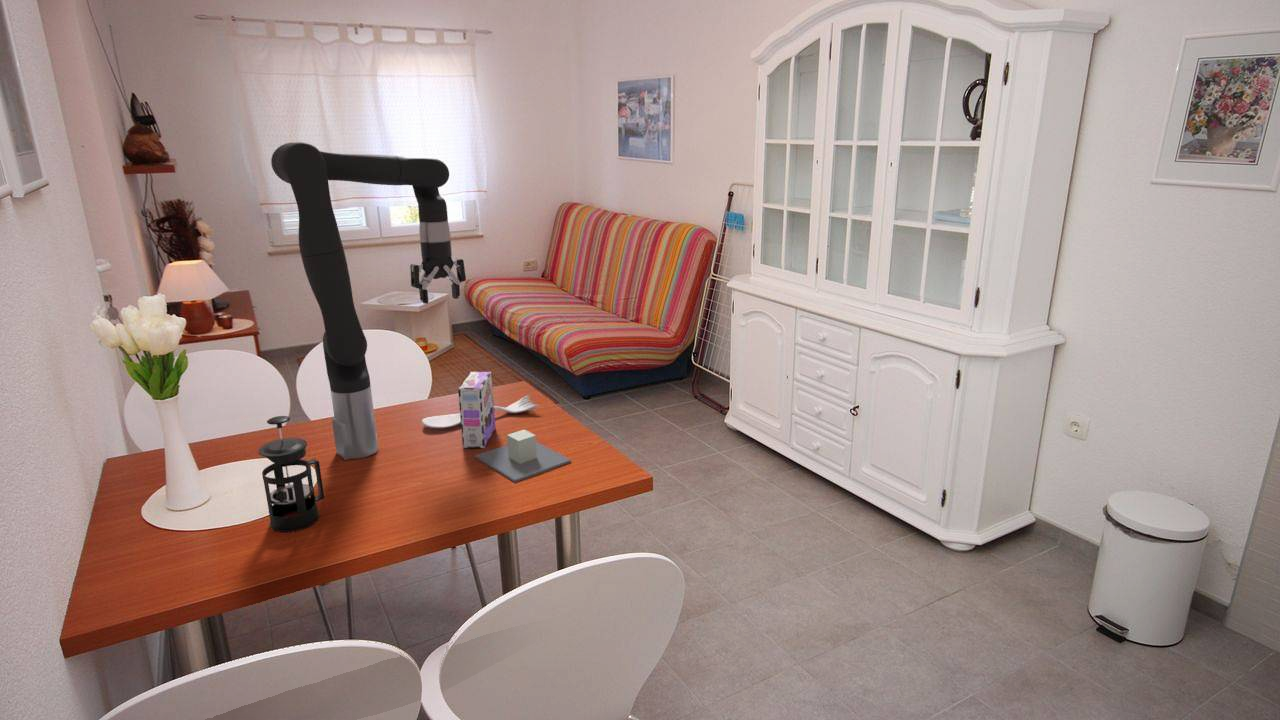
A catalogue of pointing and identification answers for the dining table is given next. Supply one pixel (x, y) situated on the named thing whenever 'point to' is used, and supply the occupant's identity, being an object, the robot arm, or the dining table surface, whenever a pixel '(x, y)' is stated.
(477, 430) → the candy box
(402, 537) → the dining table surface
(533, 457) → the sage block
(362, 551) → the dining table surface
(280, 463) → the french press
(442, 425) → the spoon
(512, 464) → the placemat
